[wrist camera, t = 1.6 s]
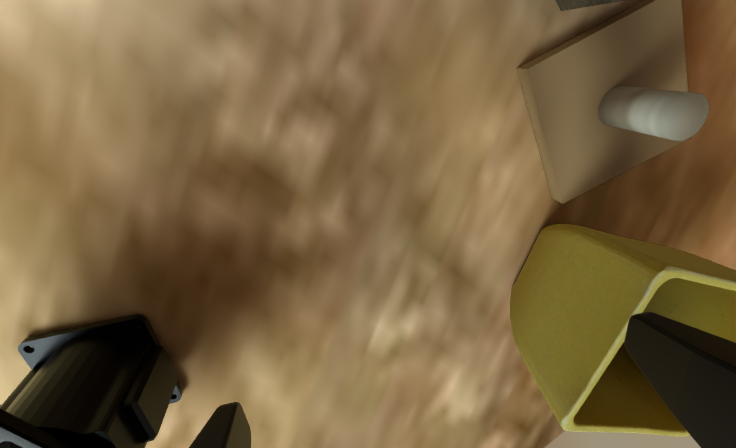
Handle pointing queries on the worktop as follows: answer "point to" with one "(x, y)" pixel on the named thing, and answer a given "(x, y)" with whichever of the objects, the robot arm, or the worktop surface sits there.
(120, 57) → the worktop surface
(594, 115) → the tan piece
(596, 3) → the open square box
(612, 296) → the flower pot
